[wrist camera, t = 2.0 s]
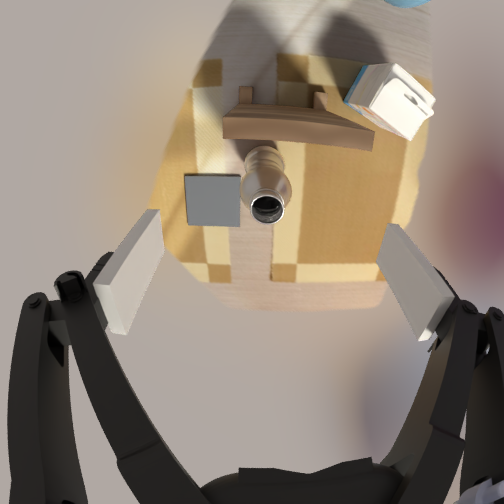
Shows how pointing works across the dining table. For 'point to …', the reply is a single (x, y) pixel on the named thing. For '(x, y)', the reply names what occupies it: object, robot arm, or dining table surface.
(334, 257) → the dining table surface
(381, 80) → the ink box
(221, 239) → the dining table surface
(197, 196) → the coaster
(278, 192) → the plastic bottle
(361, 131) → the screen
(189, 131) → the dining table surface
